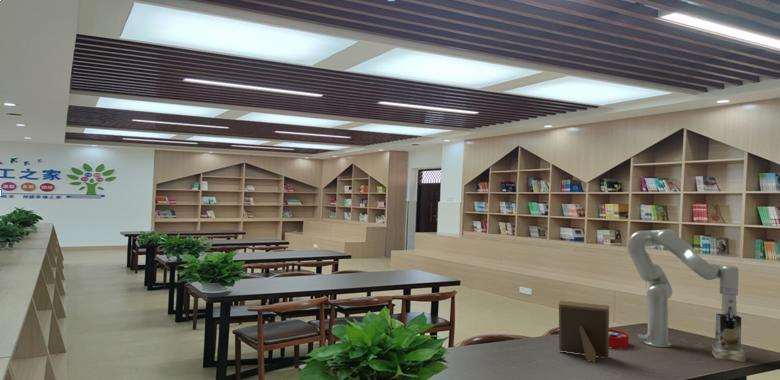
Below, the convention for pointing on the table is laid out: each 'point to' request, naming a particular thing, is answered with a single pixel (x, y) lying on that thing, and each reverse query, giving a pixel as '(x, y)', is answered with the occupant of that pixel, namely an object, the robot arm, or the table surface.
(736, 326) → the coffee box
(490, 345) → the table surface
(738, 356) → the stand
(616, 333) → the toy clock
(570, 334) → the photo frame
